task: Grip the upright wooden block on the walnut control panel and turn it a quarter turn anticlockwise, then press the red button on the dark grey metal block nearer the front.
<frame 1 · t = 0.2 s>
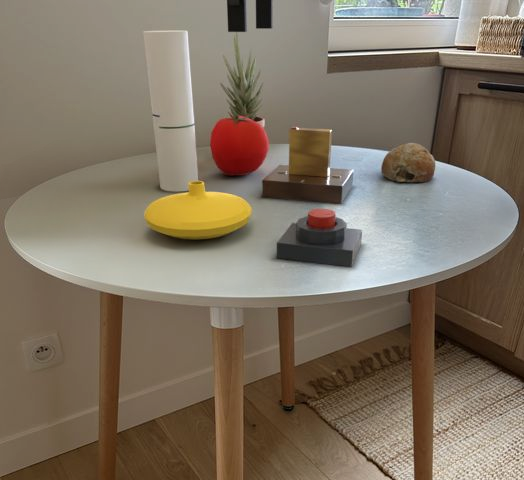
hand: (251, 30, 87), 25 cm above the table, tool pointing down, fingers open, 13 cm apart
upright wooden block: (309, 151, 94), point 7 cm above the table, hinge at 0.0°
potted plant: (243, 154, 123), on the table
tomato: (239, 175, 108), on the table
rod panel: (308, 191, 98), on the table
vase: (199, 231, 81), on the table
red button: (321, 219, 71), point 4 cm above the table, slide at 0.1 cm
button block: (319, 251, 74), on the table
bread roll: (406, 177, 106), on the table
cylindrical container: (179, 187, 101), on the table
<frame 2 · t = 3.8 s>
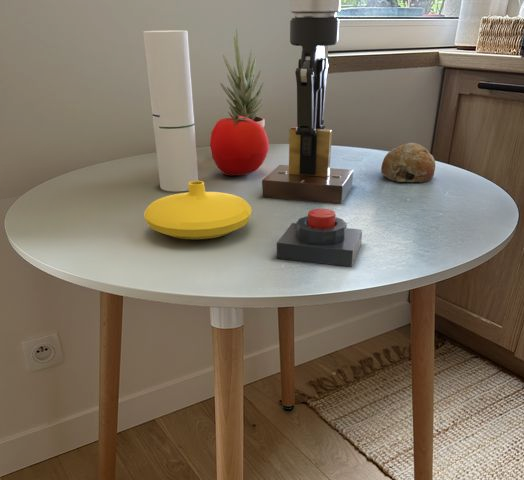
hand: (309, 171, 96), 3 cm above the table, tool pointing down, fingers closed on upright wooden block, 2 cm apart
upright wooden block: (309, 151, 94), point 7 cm above the table, hinge at 0.0°, touching gripper
everything else where it was.
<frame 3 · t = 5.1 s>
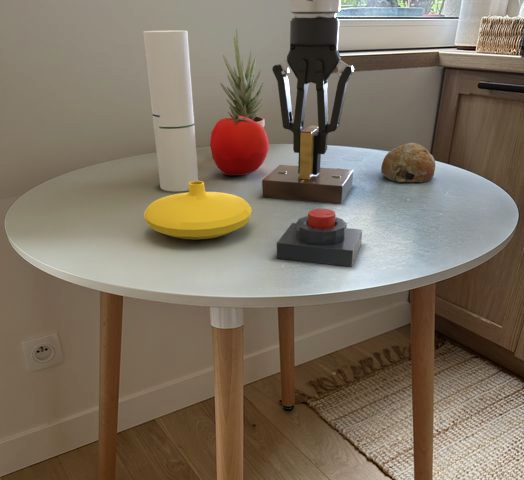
hand: (309, 172, 96), 3 cm above the table, tool pointing down, fingers closed on upright wooden block, 2 cm apart
upright wooden block: (309, 151, 94), point 7 cm above the table, hinge at 89.9°, touching gripper
everything else where it was.
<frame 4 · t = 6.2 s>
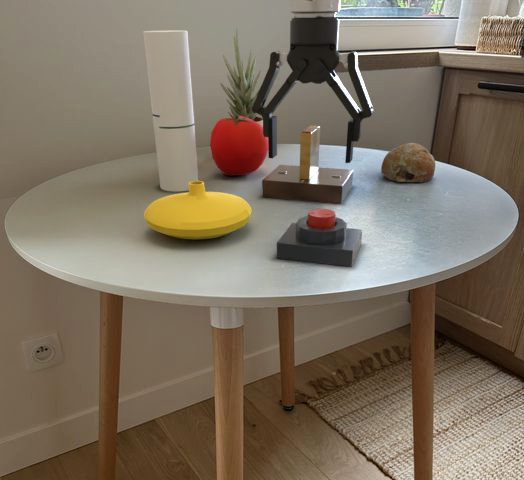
hand: (310, 159, 95), 6 cm above the table, tool pointing down, fingers open, 13 cm apart
upright wooden block: (309, 151, 94), point 7 cm above the table, hinge at 89.9°
everything else where it was.
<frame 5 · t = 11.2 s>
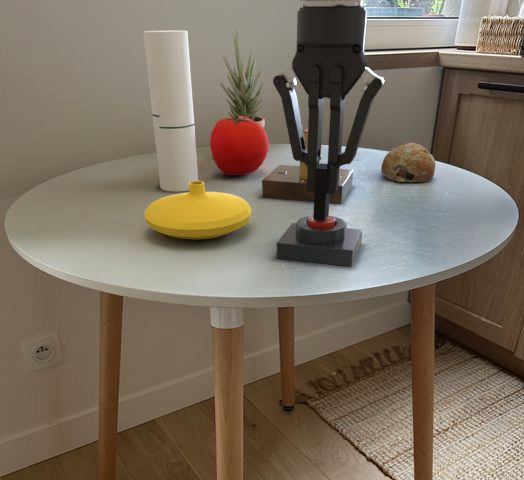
hand: (320, 216, 71), 5 cm above the table, tool pointing down, fingers closed
red button: (321, 225, 72), point 4 cm above the table, slide at -0.7 cm, touching gripper
everything else where it was.
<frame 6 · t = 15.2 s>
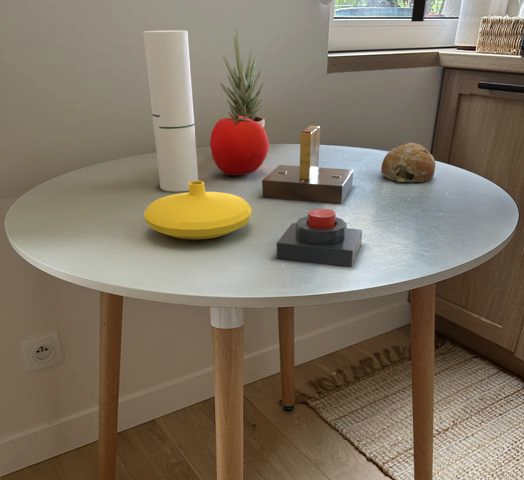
hand: (417, 21, 73), 26 cm above the table, tool pointing down, fingers closed
red button: (321, 219, 71), point 4 cm above the table, slide at 0.1 cm
everything else where it was.
at the end: upright wooden block at +90° (first picture: +0°); red button pushed in 1.0 cm at the most during the clip, back to where it started at the end; red button slide at 0.1 cm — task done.
